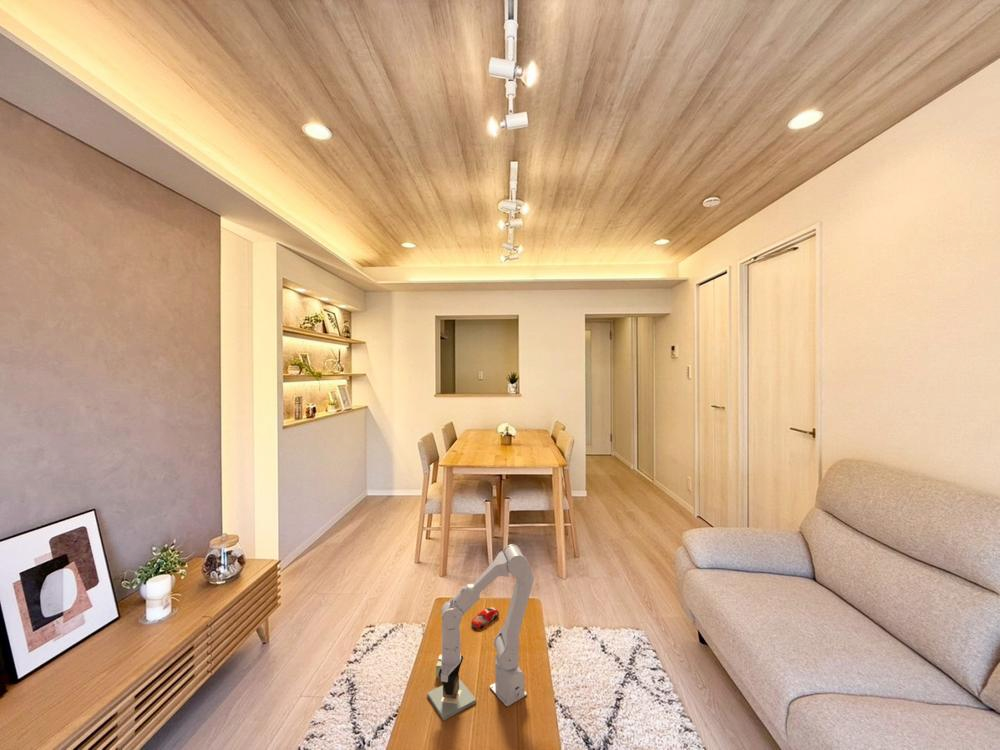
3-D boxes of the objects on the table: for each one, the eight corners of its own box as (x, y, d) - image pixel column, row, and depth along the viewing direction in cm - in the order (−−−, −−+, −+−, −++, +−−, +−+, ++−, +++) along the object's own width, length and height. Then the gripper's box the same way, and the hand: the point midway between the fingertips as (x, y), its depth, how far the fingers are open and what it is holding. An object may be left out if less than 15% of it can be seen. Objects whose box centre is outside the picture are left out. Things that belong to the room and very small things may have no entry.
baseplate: (476, 702, 120) (475, 699, 120) (443, 720, 114) (443, 716, 114) (458, 680, 129) (458, 676, 129) (427, 696, 123) (427, 692, 123)
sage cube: (451, 670, 134) (451, 658, 134) (447, 679, 130) (447, 666, 130) (440, 668, 134) (440, 657, 134) (436, 677, 130) (436, 665, 131)
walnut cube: (459, 688, 123) (459, 675, 123) (455, 698, 119) (455, 685, 119) (446, 687, 124) (446, 674, 124) (442, 697, 120) (442, 683, 120)
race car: (477, 632, 154) (477, 622, 154) (468, 626, 158) (468, 616, 158) (501, 617, 164) (500, 607, 164) (491, 612, 167) (491, 602, 167)
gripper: (445, 627, 129) (446, 669, 129) (430, 658, 115) (430, 705, 115) (466, 629, 128) (466, 672, 128) (453, 661, 114) (454, 708, 114)
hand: (451, 688), depth 121 cm, fingers closed on walnut cube, 4 cm apart
